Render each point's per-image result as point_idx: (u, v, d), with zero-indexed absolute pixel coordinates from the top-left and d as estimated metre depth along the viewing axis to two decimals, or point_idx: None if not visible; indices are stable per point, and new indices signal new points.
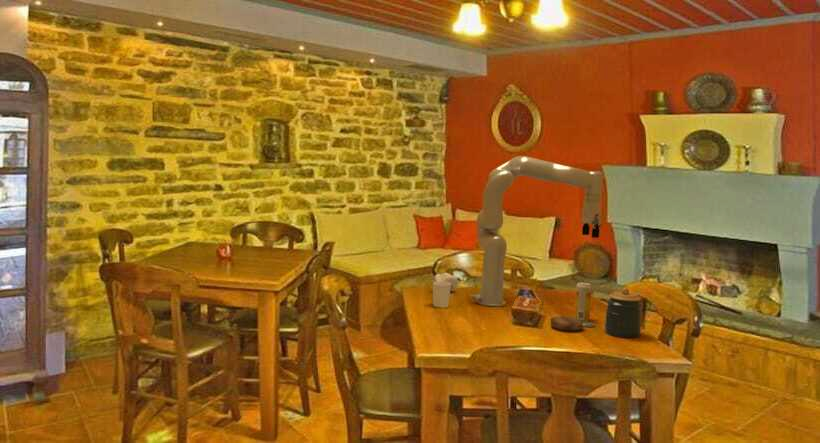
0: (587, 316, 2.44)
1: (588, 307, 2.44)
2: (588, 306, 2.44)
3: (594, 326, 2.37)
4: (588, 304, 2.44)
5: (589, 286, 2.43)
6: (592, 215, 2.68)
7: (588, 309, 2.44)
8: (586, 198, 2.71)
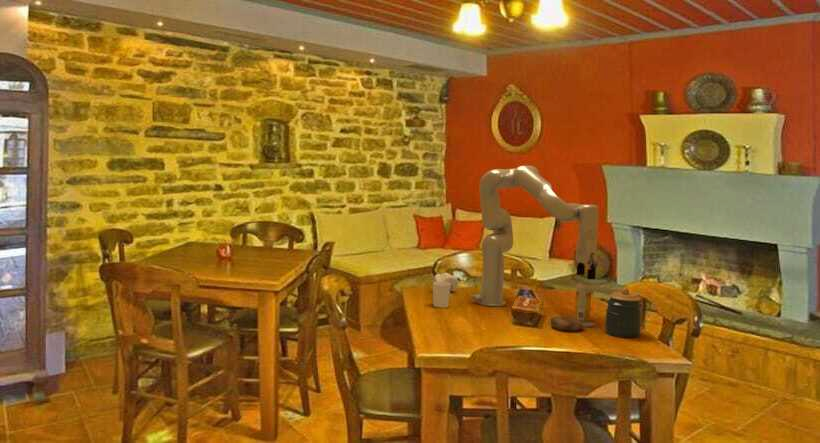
0: (587, 316, 2.44)
1: (588, 307, 2.44)
2: (588, 306, 2.44)
3: (594, 326, 2.37)
4: (588, 304, 2.44)
5: (589, 286, 2.43)
6: (587, 254, 2.39)
7: (588, 309, 2.44)
8: (580, 235, 2.42)
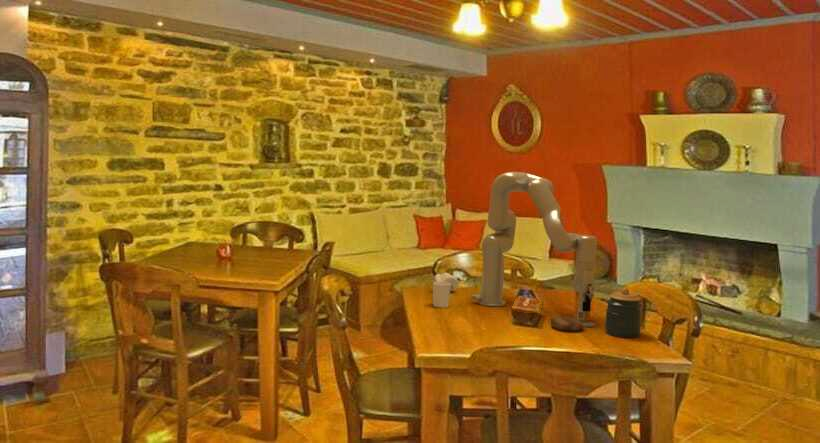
0: (587, 316, 2.44)
1: None
2: None
3: (594, 326, 2.37)
4: None
5: None
6: (584, 285, 2.40)
7: None
8: (578, 266, 2.43)
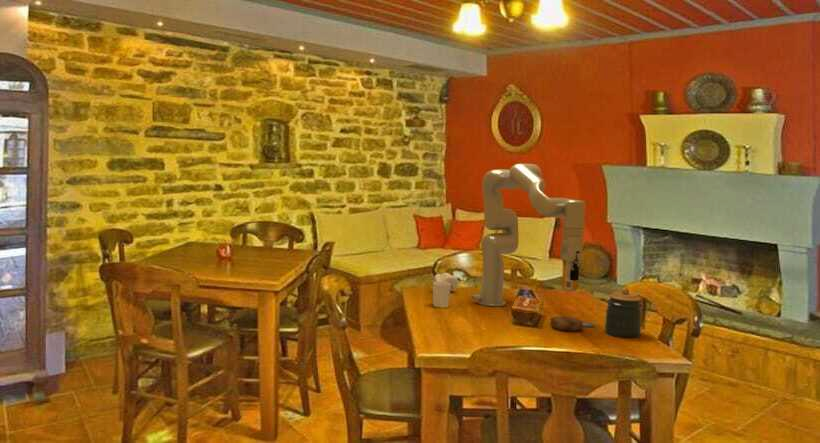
0: (575, 286, 2.30)
1: None
2: None
3: (594, 326, 2.37)
4: None
5: None
6: (572, 252, 2.26)
7: None
8: (565, 232, 2.29)
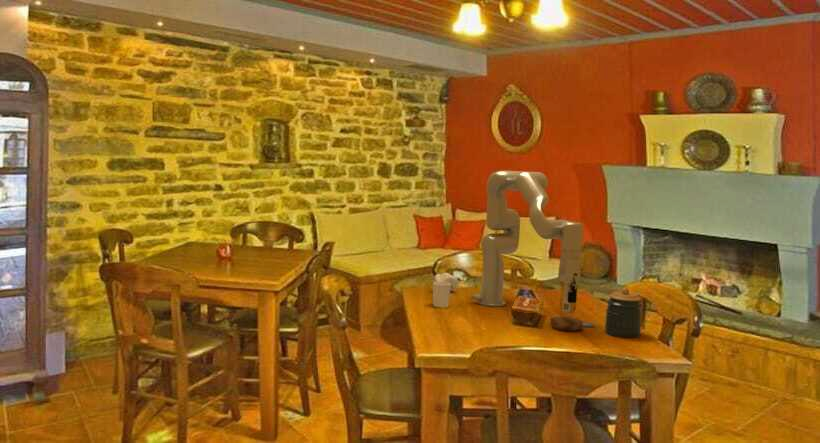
0: (573, 308, 2.30)
1: None
2: None
3: (594, 326, 2.37)
4: None
5: None
6: (570, 275, 2.26)
7: None
8: (563, 254, 2.29)
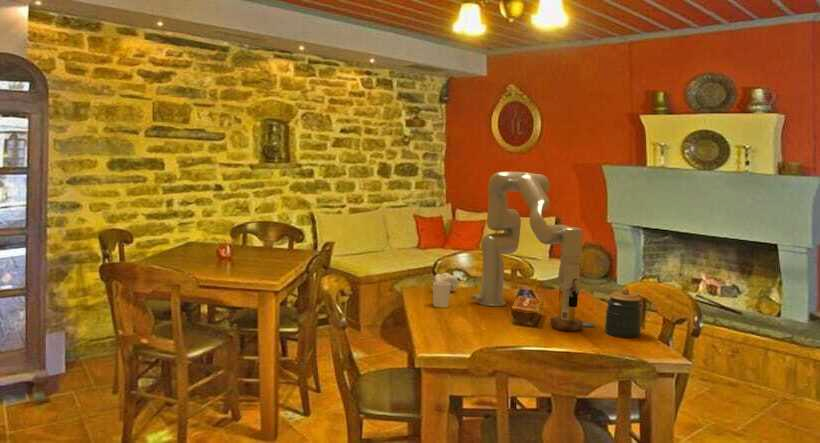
0: (572, 316, 2.31)
1: (573, 307, 2.30)
2: None
3: (594, 326, 2.37)
4: None
5: None
6: (569, 280, 2.26)
7: (573, 309, 2.30)
8: (563, 259, 2.29)
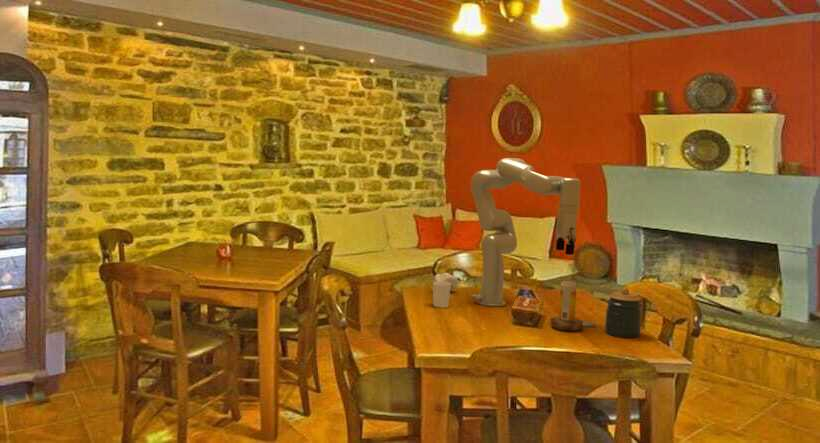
0: (572, 316, 2.31)
1: (573, 307, 2.30)
2: (573, 306, 2.30)
3: (594, 326, 2.37)
4: (573, 304, 2.30)
5: (574, 285, 2.30)
6: (566, 229, 2.33)
7: (573, 309, 2.30)
8: (560, 209, 2.36)
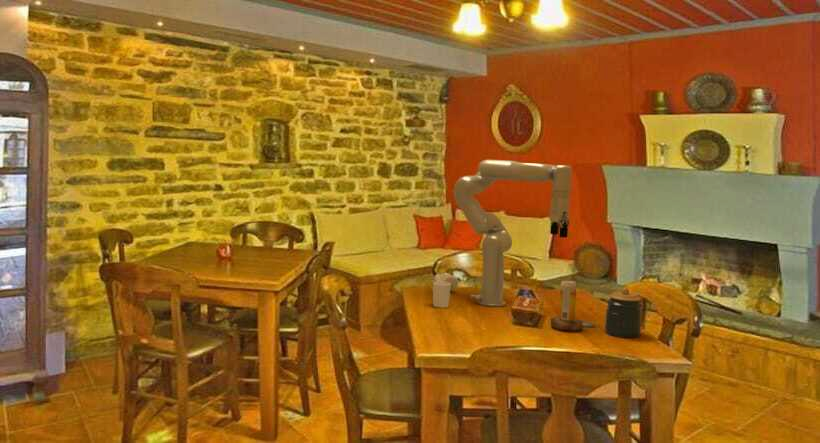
0: (572, 316, 2.31)
1: (573, 307, 2.30)
2: (573, 306, 2.30)
3: (594, 326, 2.37)
4: (573, 304, 2.30)
5: (574, 284, 2.30)
6: (560, 213, 2.46)
7: (573, 309, 2.30)
8: (554, 194, 2.49)
